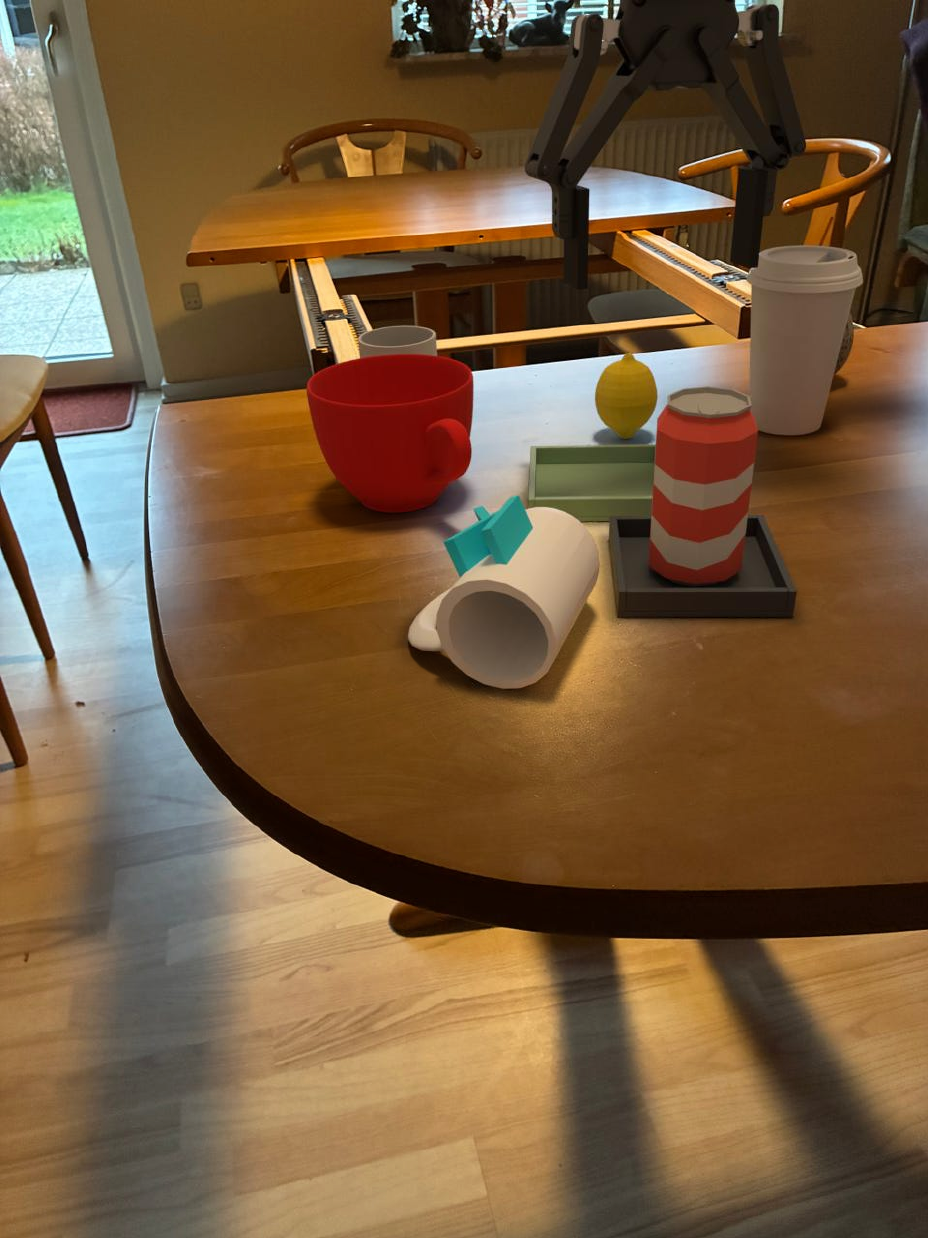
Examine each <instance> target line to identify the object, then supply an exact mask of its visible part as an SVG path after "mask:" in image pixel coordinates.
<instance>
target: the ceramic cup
mask: <svg viewBox="0 0 928 1238" xmlns="http://www.w3.org/2000/svg"><path fill="white" fill-rule="evenodd" d="M474 388H475V387H474V376H473V371H472V369H471V368H470V367H469V366H468V365H467V364H465V363H463V362H461V361H459V360H456V359H453V358H450V357H445V356H440V355H437V356H433V355H424V354H391V355H379V356H371V357H364V358H360V357H359V358H354V359H349V360H346V361H342V362H339V363H336V364H333V365H330V366H327V367H325V368H323V369H322V370H319V371H317V372H316V373H315V374H313V375H312V376H311V377H310V378H309V380H308V381H307V384H306V398H307V403H308V408H309V413H310V417H311V422H312V426H313V430H314V433H315V434H314V435H315V437H316V440H317V443H318V446H319V449H320V451H321V454H322V456H323V458H324V460H325V462H326V464H327V466H328V468H329V470H330V471H331V473H332V474H333V476H334V477H335V478H336V480H337V481H338V482H339V483H340V484H341V485H342V486H343V487H344V488H345V489H346V490H347V491H348V492H349V493H350V494H351V495H352V496H354V497H355V498H356V499H357V500H358V501H359V502H361V504H362V505H363V506H364V507H366V508H367V509H369V510H373V511H375V512H376V511H377V512H379V513H390V514H394V513H395V514H397V513H408V512H413V511H417V510H421V509H424V508H427V507H429V506H431V505H432V504H434V503H435V502H436V501H437V500H438V499H439V498H440V496H441V494H442V493H443V492H444V491H445V490H446V489H447V487H448V486H449V485H450V484H451V483H452V482H455V481H457V480H460V478H462V477H463V476H464V475H465V474H466V473H467V471H468V470H469V467H470V465H471V461H472V455H473V453H472V452H473V451H472V442H471V432H472V426H473V414H474V391H475V390H474Z"/></svg>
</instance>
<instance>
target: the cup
mask: <svg viewBox="0 0 928 1238" xmlns="http://www.w3.org/2000/svg"><path fill="white" fill-rule="evenodd" d="M357 344H358V354H359V358H364V357H371V356H379V355H391V354H424V355H433V356H438V348H437V332H435V330H433V329H431V328H429V327H424V326H418V325H392V326H384V327H379V328H375V329H371V330H367V331H365V332H363V333H362V334H360V335H359V336H358V337H357Z"/></svg>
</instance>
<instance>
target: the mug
mask: <svg viewBox="0 0 928 1238" xmlns="http://www.w3.org/2000/svg"><path fill="white" fill-rule="evenodd" d="M472 509H473V512H474V514H475V516H476V518H477V522H474V523H473V524H471V525H469V526H468V527H466V528H465V529H463V530H461V531H459V532H458V533H456V534H454V535H452V536H451V537H449V538H448V539H445V540H444V541H443V542H442V543H443V545H444V548H445V549H446V551H447V553H448V555H449V557H450V559H451V562H452V563H453V566H454V568H455V571H456V572H457V574H458V577H459V578H457V580H456V581H455V582H454V584H453V585H452V586H451V587H450V588H449V589H447V590H445V591H443V592H442V593H440V594H439V595H438V596H437V597H435V598H434V599H433V600H431V601H430V602H428V603H427V605H426V606H425V607H424V608H422V610H420V612H419V613H418V614H417V615H416V616H415V617H414V619H413V621H412V622H411V625H410V626H409V628H408V635H407V640H408V642H409V644H410V646H412V647H414V648H416V649H418V650H419V651H424V652H425V651H426V652H442V651H444V653H446V655H447V657H448V658H449V659H450V661H451V662H452V663H453V664H454V665H455V667H457V668H458V669H459V670H460V671H462V672H463V673H464V674H465V675H466V676H467V677H470V678H471V679H473V680H475V681H477V682H479V683H481V684H483V685H485V686H490V687H493V688H498V689H503V690H504V689H505V690H506V689H522V688H524V687H528V686H530V685H533V684H536V683H537V682H538V681H539V680H540V679H541V678H543V677H544V676H545V675H547V674H548V673H549V671H550V669H551V667H552V665H553V664H554V662H555V660H556V659H557V656H558V654H559V652H560V651H561V649H562V647H563V645H564V644H565V642H566V640H567V638H568V637H569V634H570V633H571V630H572V628H573V627H574V625H575V623H576V622H577V619H578V618H579V616H580V614H581V612H582V610H583V608H584V607H585V605H586V603H587V601H588V599H589V597H590V595H591V593H593V590H594V588H595V586H596V584H597V582H598V578H599V575H600V567H601V564H600V562H601V560H600V555H599V549H598V547H597V543H596V541H595V539H594V537H593V534H591V532H590V530H589V529H588V528H587V527H586V526H585V525H584V524H583V523H582V521H579V520H577V519H576V518H574V517H573V516H572V515H570V514H568V513H566V512H564V511H561V510H558V509H554V508H548V507H534V508H529V509H528V508H525V506H524V504H523V501H522V499H521V497H520V494H516V495H513V496H510V497H508V499H507V500H506V501H505V503H504V504H503V505H502V506H501V507H500V508H499V510H497V511H495V512H493V513H489V511H488V510H487V509H486V508H485V507H484V506H483V505H480V506H478V507H474V508H472Z"/></svg>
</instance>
